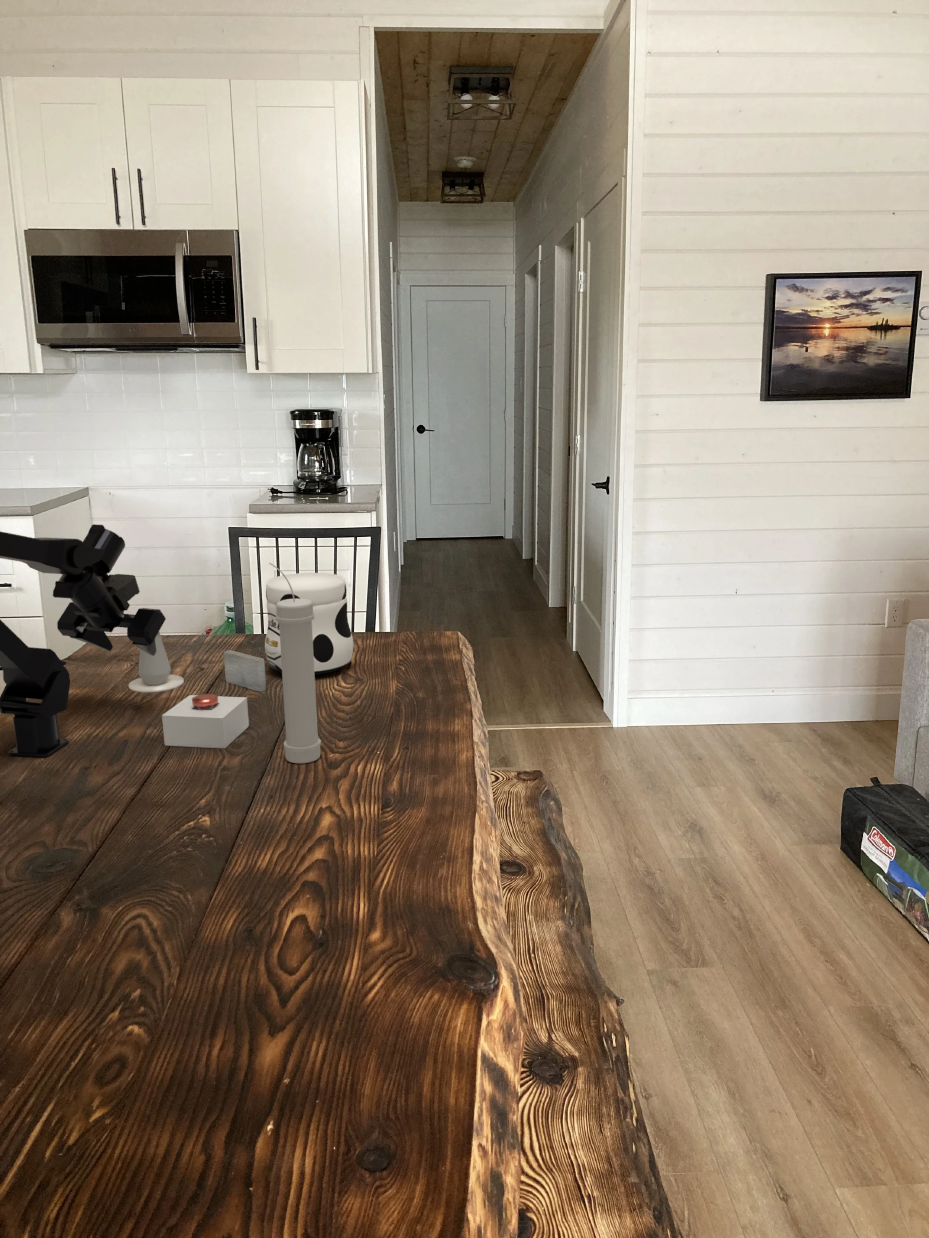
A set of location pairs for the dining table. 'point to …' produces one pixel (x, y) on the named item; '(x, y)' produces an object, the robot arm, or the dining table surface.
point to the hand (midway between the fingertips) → (132, 651)
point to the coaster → (171, 683)
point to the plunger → (205, 701)
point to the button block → (205, 723)
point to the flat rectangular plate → (245, 670)
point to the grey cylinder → (298, 679)
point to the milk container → (326, 626)
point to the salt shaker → (154, 665)
